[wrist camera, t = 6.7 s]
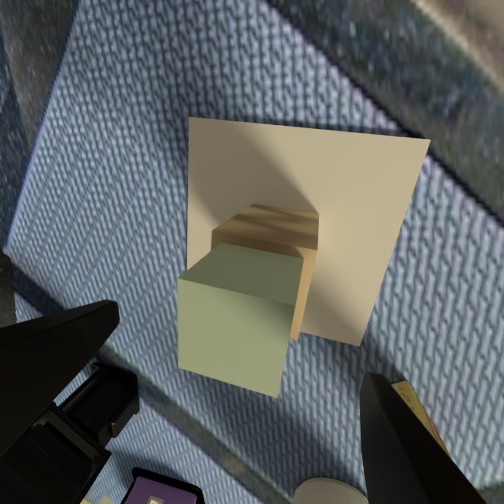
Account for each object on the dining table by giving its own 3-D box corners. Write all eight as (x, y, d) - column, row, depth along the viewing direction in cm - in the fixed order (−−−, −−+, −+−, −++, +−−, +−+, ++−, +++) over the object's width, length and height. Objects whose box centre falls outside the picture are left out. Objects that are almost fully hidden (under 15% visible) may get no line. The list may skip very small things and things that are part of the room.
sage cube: (216, 311, 14) (178, 367, 10) (220, 242, 12) (177, 278, 8) (289, 330, 13) (277, 398, 9) (304, 258, 11) (295, 305, 8)
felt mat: (189, 299, 25) (186, 302, 24) (192, 117, 19) (189, 116, 18) (358, 342, 22) (359, 346, 21) (427, 140, 16) (430, 139, 15)
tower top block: (231, 283, 17) (207, 316, 14) (237, 213, 16) (211, 230, 12) (302, 300, 16) (297, 340, 13) (318, 227, 15) (317, 250, 11)
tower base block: (246, 262, 21) (231, 283, 17) (253, 203, 19) (237, 213, 16) (306, 275, 20) (302, 300, 16) (319, 214, 18) (318, 227, 15)
